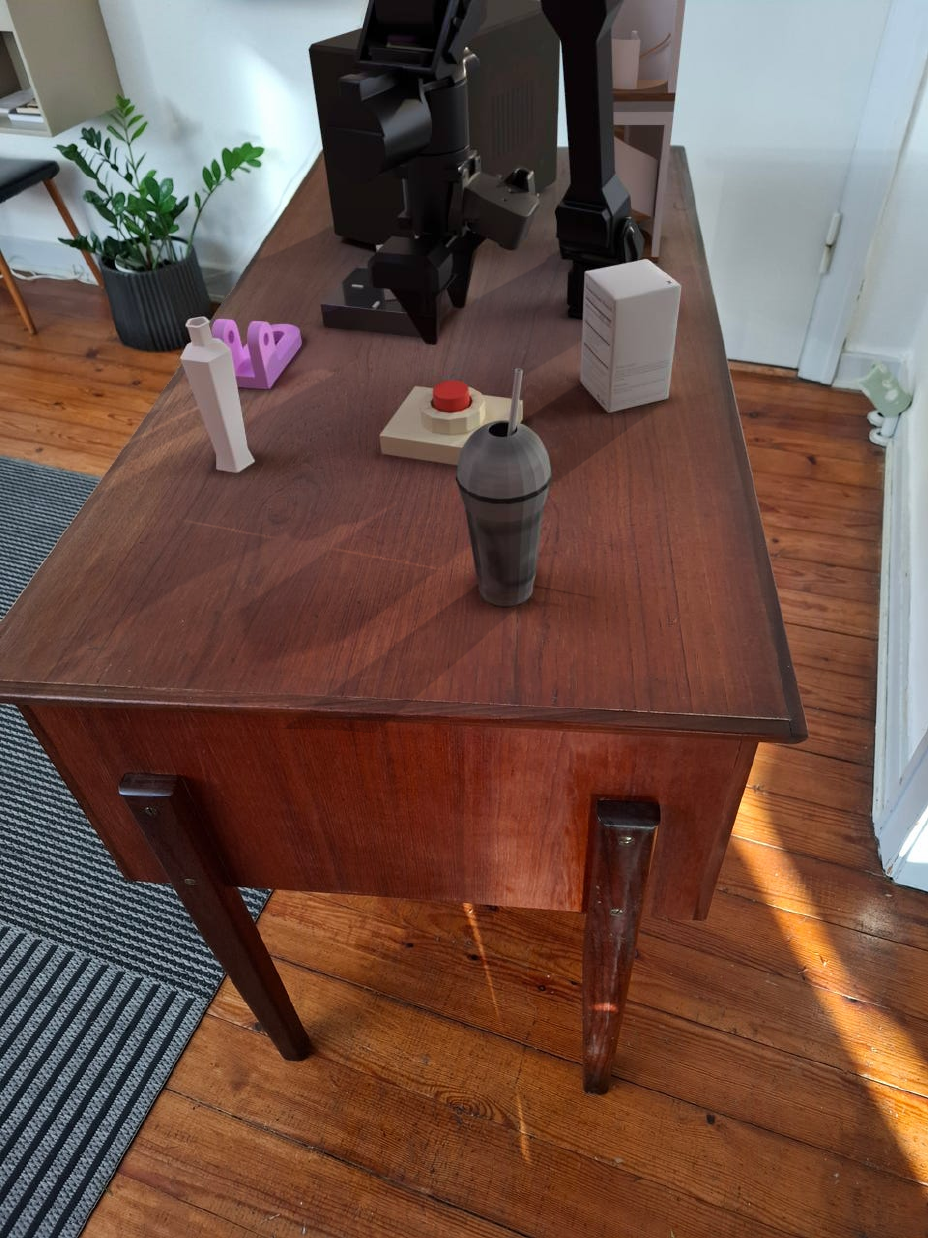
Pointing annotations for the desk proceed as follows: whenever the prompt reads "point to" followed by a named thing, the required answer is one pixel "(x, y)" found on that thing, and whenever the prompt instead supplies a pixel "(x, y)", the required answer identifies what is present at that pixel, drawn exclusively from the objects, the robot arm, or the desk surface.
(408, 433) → the block
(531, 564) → the beverage cup
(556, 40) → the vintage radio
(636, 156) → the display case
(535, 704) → the desk surface
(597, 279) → the white packaging box
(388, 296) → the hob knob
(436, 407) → the button
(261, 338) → the bracket
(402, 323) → the panel
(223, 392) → the perfume bottle
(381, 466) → the desk surface
